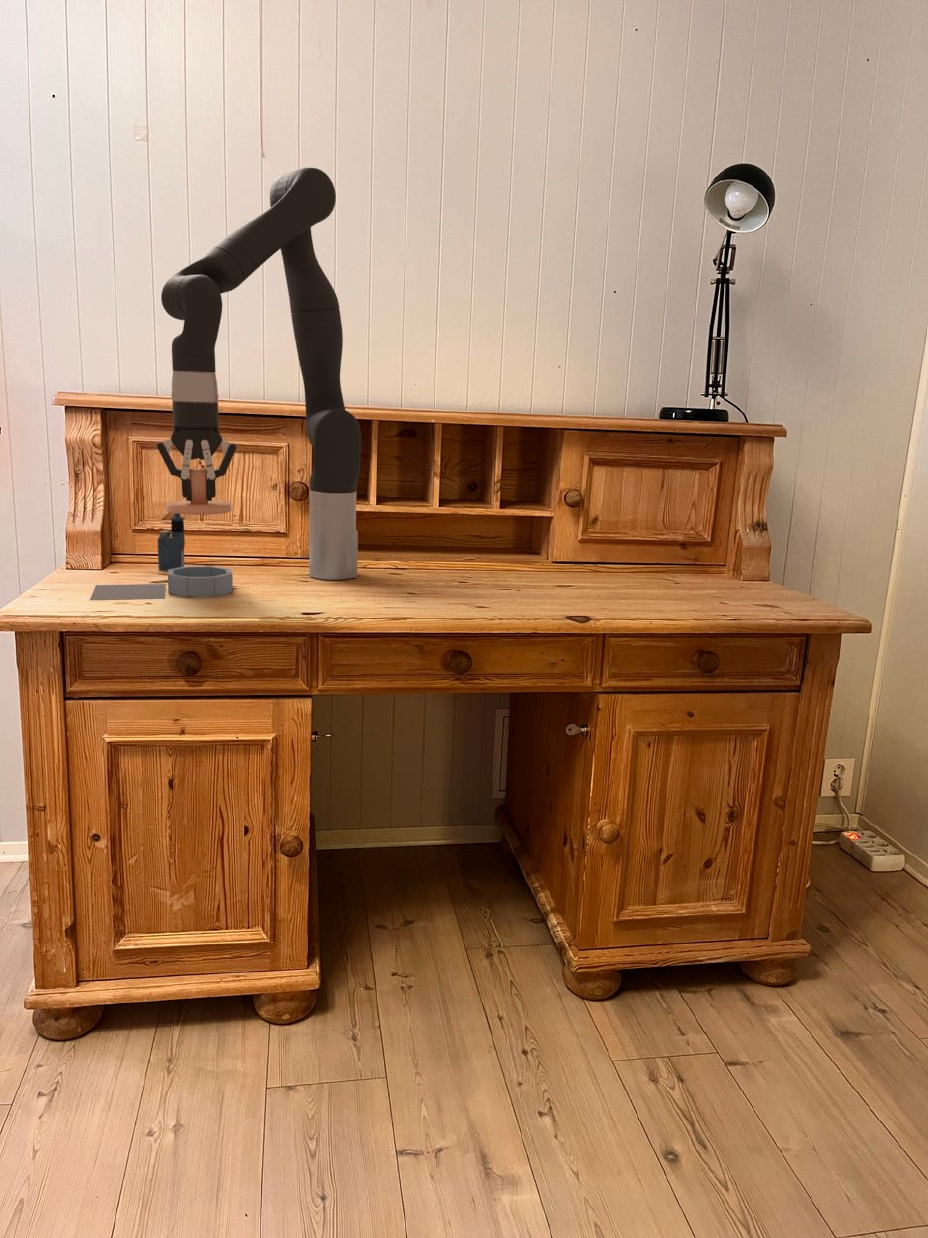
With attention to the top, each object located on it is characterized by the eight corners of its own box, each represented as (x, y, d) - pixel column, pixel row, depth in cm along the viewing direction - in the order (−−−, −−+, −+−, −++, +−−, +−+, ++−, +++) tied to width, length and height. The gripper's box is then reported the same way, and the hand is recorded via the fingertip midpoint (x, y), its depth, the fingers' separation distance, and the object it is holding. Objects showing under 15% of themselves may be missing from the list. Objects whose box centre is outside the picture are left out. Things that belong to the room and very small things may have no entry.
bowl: (230, 586, 168) (230, 565, 167) (233, 599, 158) (233, 577, 157) (168, 587, 165) (168, 566, 164) (168, 601, 154) (167, 578, 154)
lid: (230, 506, 164) (229, 466, 163) (233, 514, 154) (232, 472, 152) (167, 506, 161) (165, 466, 159) (166, 514, 151) (164, 471, 149)
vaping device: (183, 574, 177) (181, 513, 174) (156, 572, 177) (154, 512, 174) (187, 571, 179) (185, 511, 177) (161, 570, 179) (159, 510, 177)
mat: (166, 587, 165) (165, 583, 165) (165, 601, 154) (165, 598, 154) (96, 588, 161) (95, 585, 161) (89, 603, 150) (89, 600, 150)
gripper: (236, 400, 159) (238, 497, 163) (152, 397, 154) (157, 497, 159) (238, 401, 152) (241, 503, 156) (151, 398, 147) (156, 503, 152)
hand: (198, 499), depth 157 cm, fingers closed on lid, 3 cm apart
